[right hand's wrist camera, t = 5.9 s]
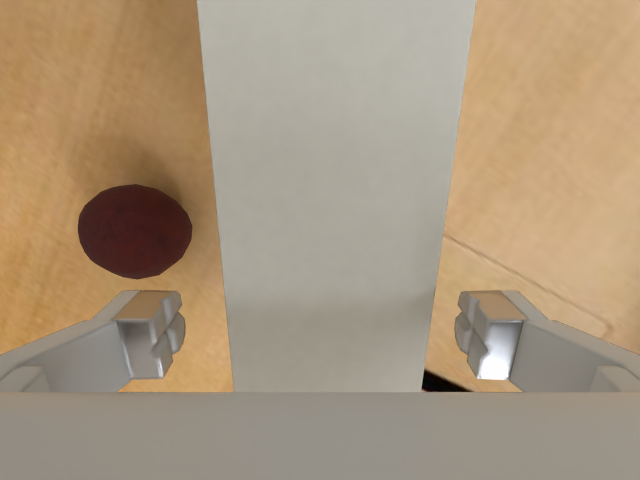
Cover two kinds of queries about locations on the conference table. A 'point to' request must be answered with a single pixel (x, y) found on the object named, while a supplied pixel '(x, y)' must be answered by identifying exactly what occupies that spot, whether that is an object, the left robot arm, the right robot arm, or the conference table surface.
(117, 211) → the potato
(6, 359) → the right robot arm
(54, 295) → the conference table surface
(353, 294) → the box
